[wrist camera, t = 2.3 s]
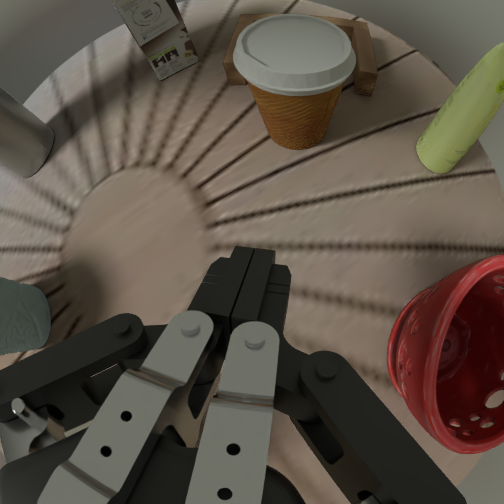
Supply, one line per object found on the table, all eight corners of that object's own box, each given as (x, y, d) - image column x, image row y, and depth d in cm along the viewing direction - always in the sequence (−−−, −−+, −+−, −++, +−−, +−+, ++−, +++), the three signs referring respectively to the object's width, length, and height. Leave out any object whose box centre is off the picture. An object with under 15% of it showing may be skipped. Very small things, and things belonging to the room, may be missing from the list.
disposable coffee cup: (246, 101, 30) (224, 20, 18) (326, 90, 29) (333, 8, 17) (259, 171, 28) (237, 89, 16) (352, 157, 27) (378, 74, 15)
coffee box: (201, 60, 32) (163, -31, 17) (159, 82, 32) (107, -3, 17) (181, 36, 34) (147, -39, 19) (145, 55, 35) (102, -16, 19)
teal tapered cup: (18, 276, 30) (-46, 262, 19) (59, 285, 29) (-18, 271, 17) (15, 344, 28) (-49, 345, 17) (55, 365, 27) (-19, 374, 15)
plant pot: (483, 276, 22) (561, 256, 11) (471, 399, 20) (540, 430, 8) (375, 273, 24) (435, 245, 13) (362, 412, 22) (404, 476, 10)
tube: (454, 185, 24) (561, 75, 5) (415, 173, 25) (509, 36, 6) (450, 143, 25) (530, 28, 6) (413, 130, 26) (480, -4, 7)
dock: (229, 85, 30) (222, 62, 27) (245, 34, 32) (240, 14, 29) (371, 96, 28) (377, 74, 24) (363, 42, 30) (366, 22, 26)
